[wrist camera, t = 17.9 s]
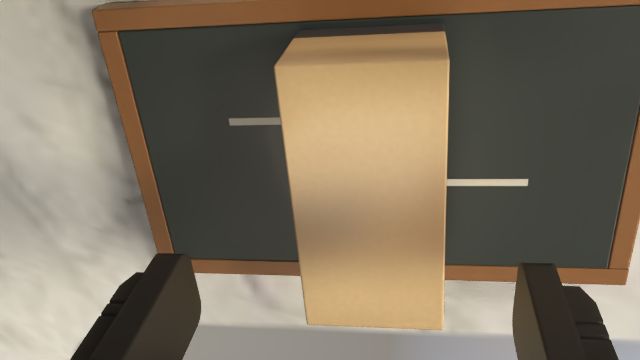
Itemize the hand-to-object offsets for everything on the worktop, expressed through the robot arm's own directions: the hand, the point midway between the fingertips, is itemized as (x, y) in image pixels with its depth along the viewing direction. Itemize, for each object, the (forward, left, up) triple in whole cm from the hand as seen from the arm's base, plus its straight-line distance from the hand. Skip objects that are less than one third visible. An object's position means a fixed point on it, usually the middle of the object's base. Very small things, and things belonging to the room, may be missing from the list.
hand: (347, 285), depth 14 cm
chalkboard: (+1, 0, -10) cm, 10 cm away
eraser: (+1, 0, -9) cm, 9 cm away
